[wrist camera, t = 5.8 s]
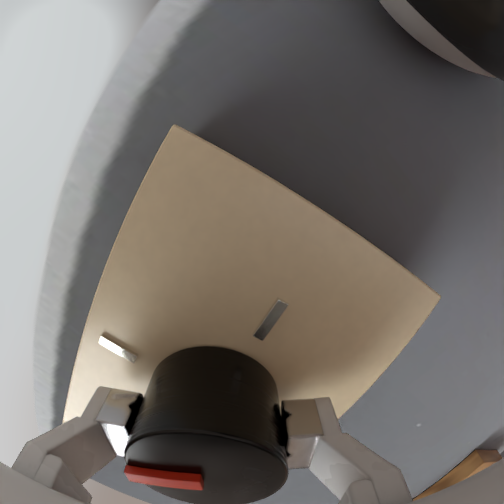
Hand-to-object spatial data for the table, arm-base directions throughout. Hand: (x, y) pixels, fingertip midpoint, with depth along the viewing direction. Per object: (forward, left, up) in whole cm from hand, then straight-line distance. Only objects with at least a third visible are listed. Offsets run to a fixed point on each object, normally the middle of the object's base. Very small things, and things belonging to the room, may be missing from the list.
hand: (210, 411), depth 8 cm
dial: (0, 0, -1) cm, 1 cm away
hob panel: (0, 0, -4) cm, 4 cm away
